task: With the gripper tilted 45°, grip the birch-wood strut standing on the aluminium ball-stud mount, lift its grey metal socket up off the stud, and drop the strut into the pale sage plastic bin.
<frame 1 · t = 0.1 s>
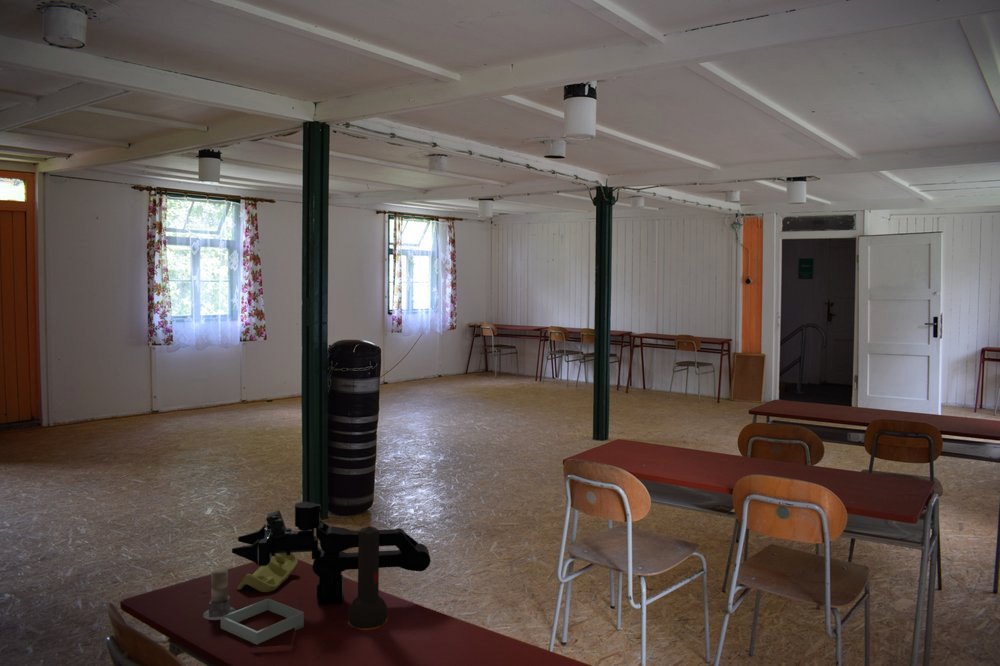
hand: (235, 544, 195), 17 cm above the table, tool horizontal, fingers open, 9 cm apart
strut: (219, 612, 188), point 1 cm above the table, touching stud mount
plastic component: (270, 583, 212), on the table
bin: (262, 629, 182), on the table
flashlight: (367, 621, 188), on the table
stud mount: (219, 616, 188), on the table
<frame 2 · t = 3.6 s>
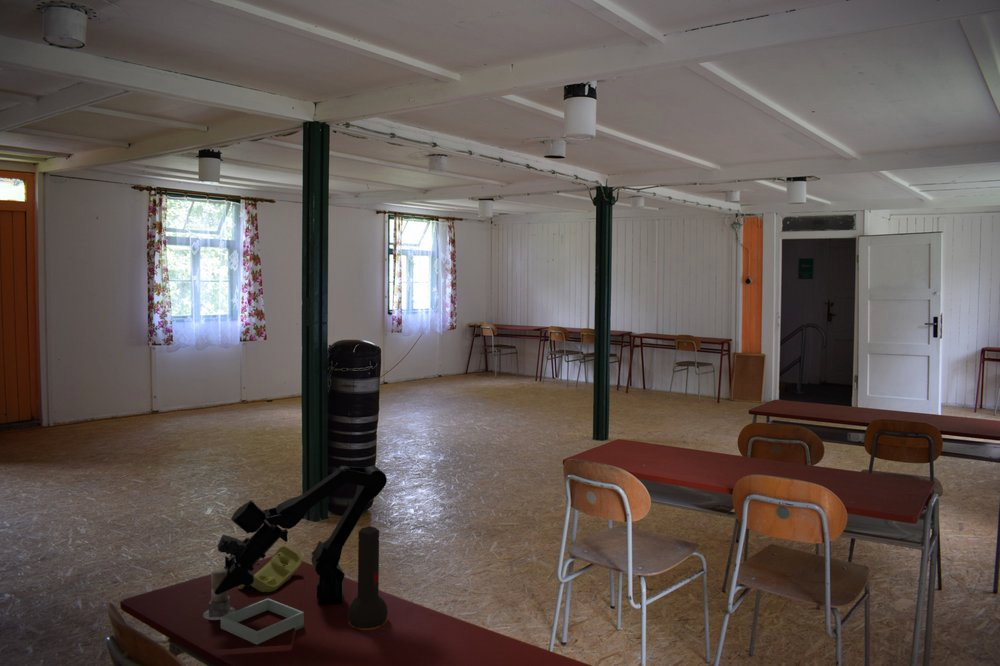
hand: (215, 590, 188), 7 cm above the table, tool tilted 45°, fingers closed on strut, 4 cm apart
strut: (219, 612, 188), point 1 cm above the table, touching gripper, stud mount
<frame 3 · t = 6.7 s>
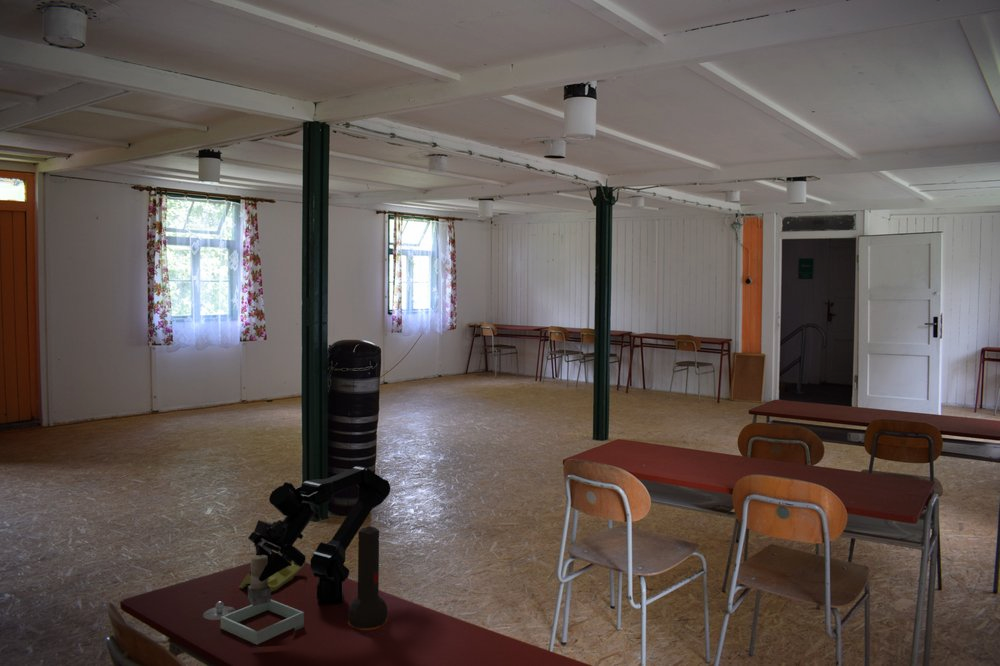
hand: (255, 578, 180), 13 cm above the table, tool tilted 45°, fingers closed on strut, 4 cm apart
strut: (259, 600, 181), point 7 cm above the table, touching gripper
when the fingers open (8 cm above the table, at t = 8.7 s): strut drops 1 cm, point 1 cm above the table.
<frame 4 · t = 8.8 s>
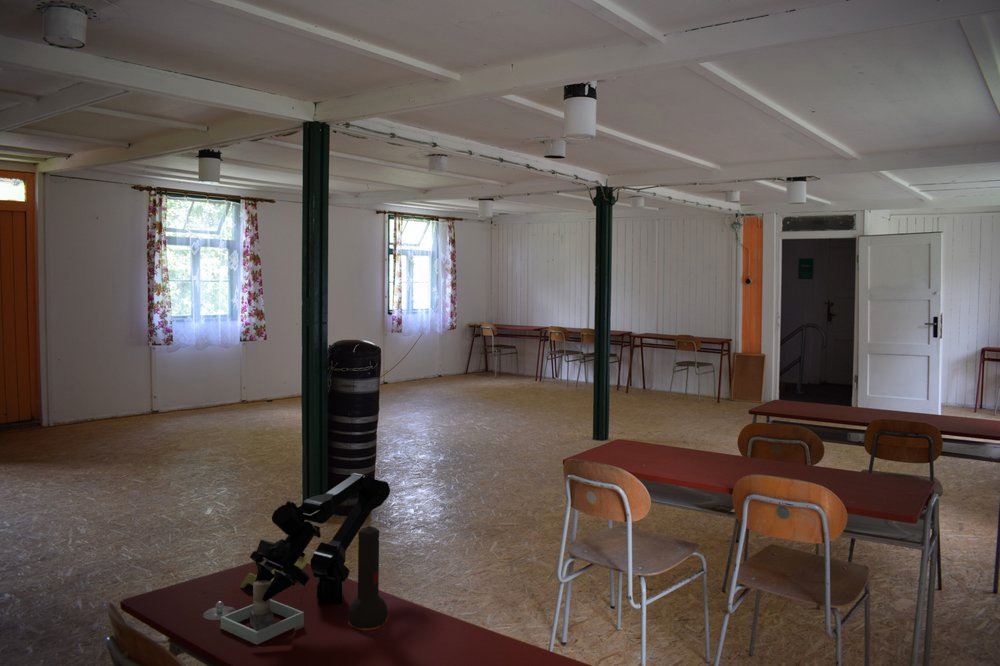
hand: (257, 597, 180), 9 cm above the table, tool tilted 45°, fingers open, 5 cm apart
strut: (261, 626, 181), point 1 cm above the table
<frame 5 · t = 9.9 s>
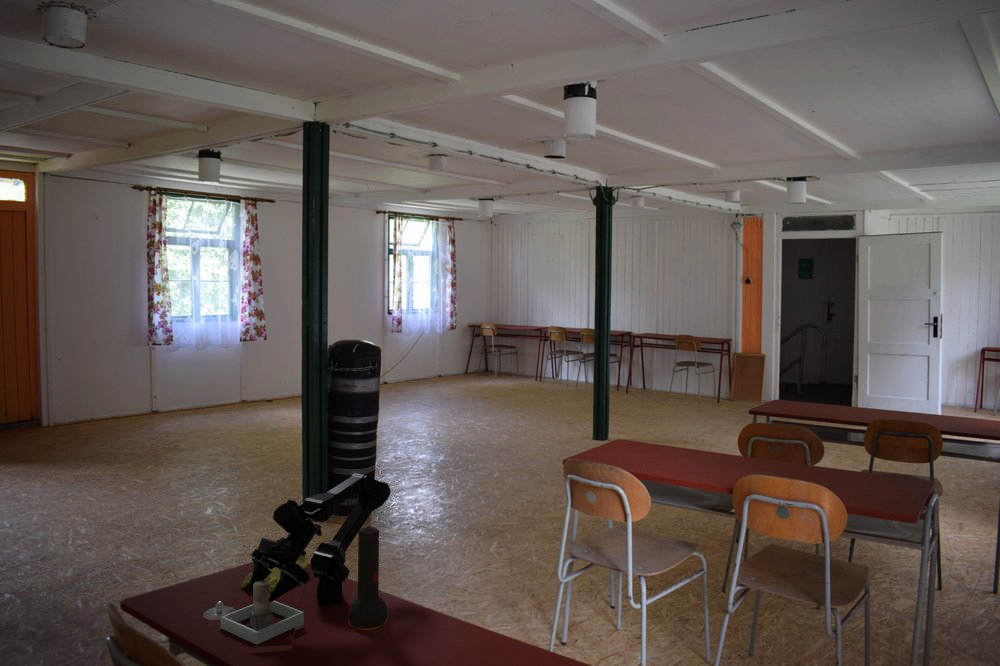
hand: (259, 596, 180), 9 cm above the table, tool tilted 45°, fingers open, 9 cm apart
strut: (261, 626, 181), point 1 cm above the table, touching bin
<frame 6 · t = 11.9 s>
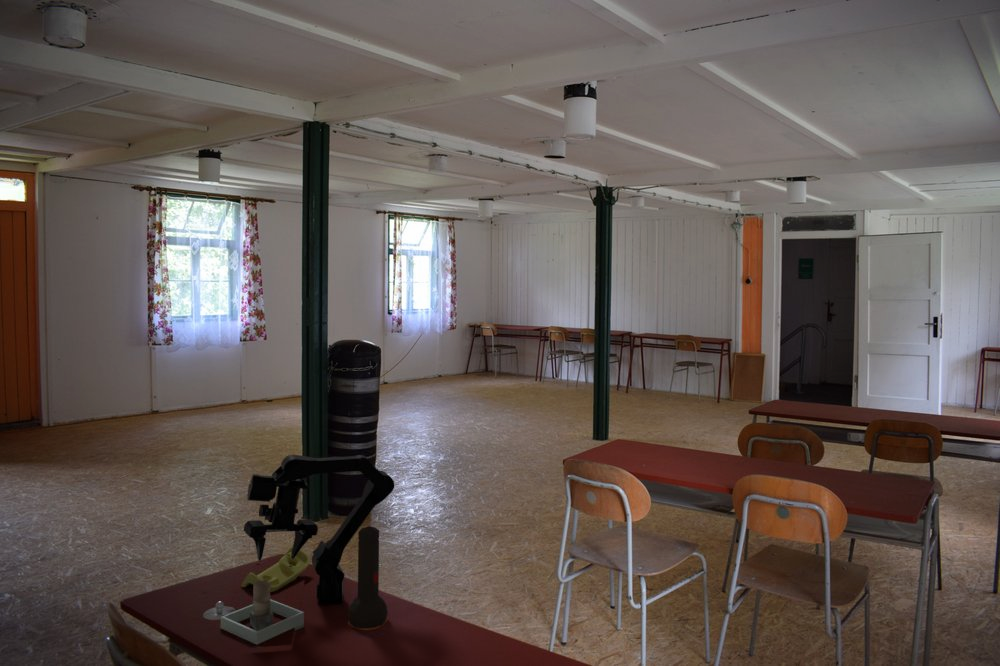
hand: (276, 559, 195), 13 cm above the table, tool pointing down, fingers open, 9 cm apart
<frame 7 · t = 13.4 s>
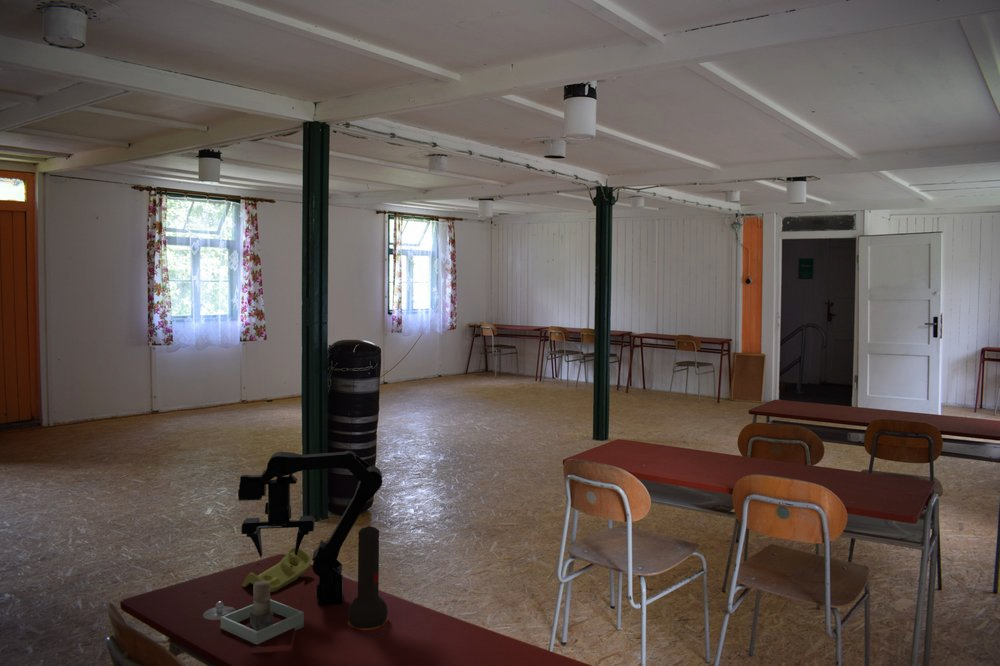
hand: (278, 555, 197), 13 cm above the table, tool pointing down, fingers open, 9 cm apart
at the end: strut 0.3 cm from the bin (horizontally); strut point 0.8 cm above the table; the gripper is holding nothing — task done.
